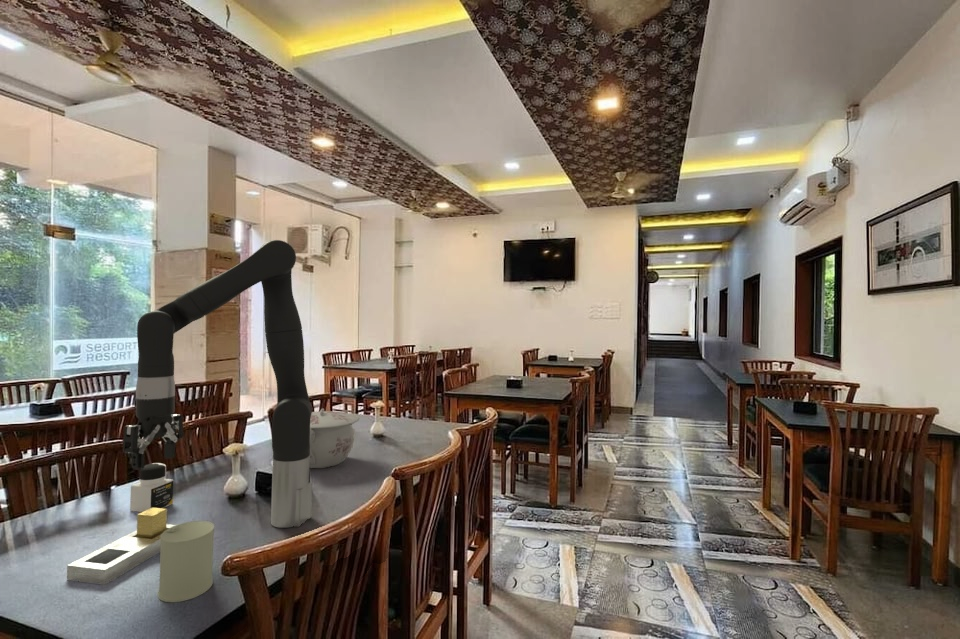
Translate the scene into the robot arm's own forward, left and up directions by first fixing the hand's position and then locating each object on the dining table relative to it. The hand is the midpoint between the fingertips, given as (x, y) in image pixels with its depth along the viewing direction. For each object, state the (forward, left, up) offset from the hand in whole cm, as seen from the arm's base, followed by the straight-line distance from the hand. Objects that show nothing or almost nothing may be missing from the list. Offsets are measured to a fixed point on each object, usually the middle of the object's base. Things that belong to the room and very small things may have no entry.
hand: (154, 463), depth 107 cm
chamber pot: (-8, -66, -20) cm, 69 cm away
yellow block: (0, 0, -19) cm, 19 cm away
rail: (0, +5, -19) cm, 20 cm away
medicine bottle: (+18, -19, -20) cm, 32 cm away
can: (-21, +13, -20) cm, 32 cm away
